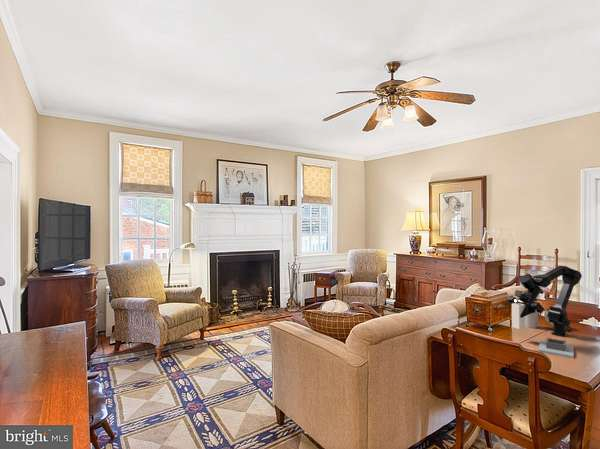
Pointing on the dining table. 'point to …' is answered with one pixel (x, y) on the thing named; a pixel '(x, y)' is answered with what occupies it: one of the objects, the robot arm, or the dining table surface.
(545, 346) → the outlet
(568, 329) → the handheld radio
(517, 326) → the charger
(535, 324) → the coffee cup
